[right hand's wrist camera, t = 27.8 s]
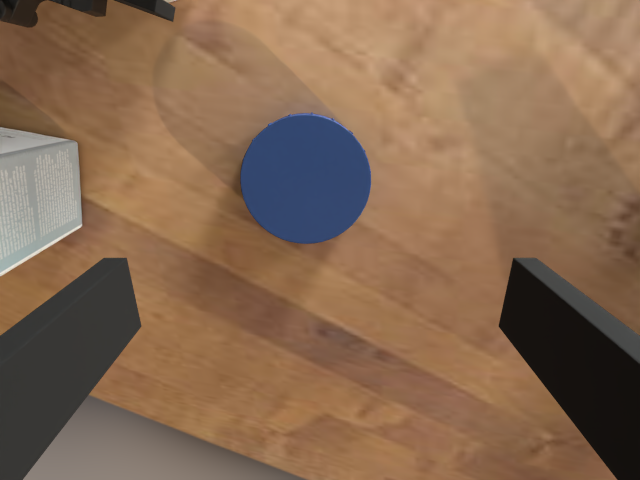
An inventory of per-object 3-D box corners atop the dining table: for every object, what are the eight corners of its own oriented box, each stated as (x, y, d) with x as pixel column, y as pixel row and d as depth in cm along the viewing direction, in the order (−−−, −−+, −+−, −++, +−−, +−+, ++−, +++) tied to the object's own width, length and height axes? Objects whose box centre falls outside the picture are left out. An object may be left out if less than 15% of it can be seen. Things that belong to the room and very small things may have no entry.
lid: (247, 234, 32) (243, 244, 30) (240, 111, 28) (234, 112, 26) (363, 235, 32) (367, 244, 30) (371, 113, 28) (375, 114, 26)
